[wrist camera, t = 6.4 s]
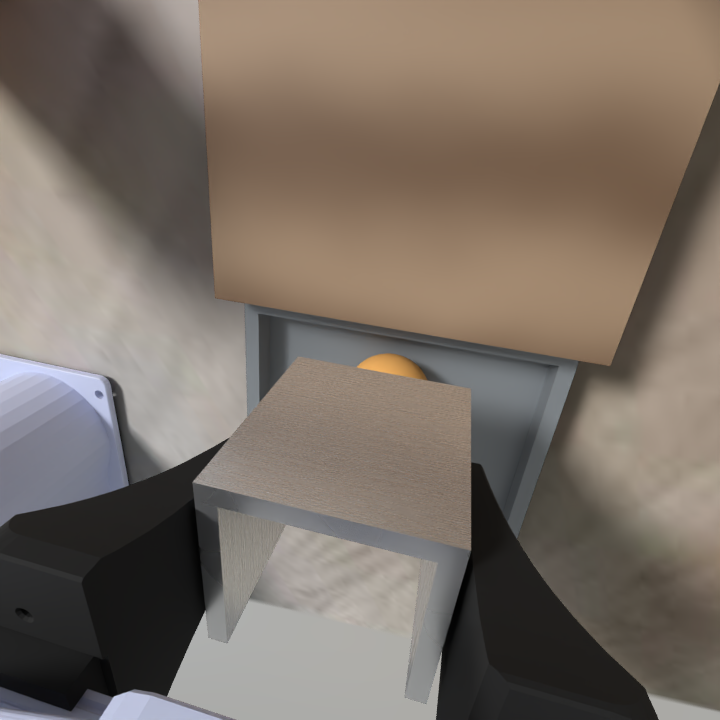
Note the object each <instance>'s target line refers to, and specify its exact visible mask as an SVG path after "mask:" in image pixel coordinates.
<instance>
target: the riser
mask: <svg viewBox="0 0 720 720" xmlns="http://www.w3.org/2000/svg"><path fill="white" fill-rule="evenodd" d="M198 4H199V21H200V39H201V57H202V75H203V93H204V111H205V129H206V147H207V164H208V182H209V200H210V218H211V236H212V254H213V272H214V289H215V298H217V299H223V300H228V301H234V302H240V303H246V304H252V305H258V306H263V307H269V308H275V309H281V310H287V311H292V312H298V313H304V314H310V315H316V316H322V317H327V318H333V319H339V320H345V321H351V322H357V323H362V324H368V325H374V326H380V327H386V328H391V329H397V330H403V331H409V332H415V333H421V334H426V335H432V336H438V337H444V338H450V339H455V340H461V341H467V342H473V343H479V344H485V345H490V346H496V347H502V348H508V349H514V350H520V351H525V352H531V353H537V354H543V355H549V356H554V357H560V358H566V359H572V360H578V361H584V362H589V363H595V364H601V365H607V366H610V365H611V363H612V360H613V357H614V355H615V352H616V350H617V347H618V344H619V342H620V339H621V337H622V334H623V332H624V329H625V326H626V324H627V321H628V319H629V316H630V313H631V311H632V308H633V306H634V303H635V301H636V298H637V295H638V293H639V290H640V288H641V285H642V282H643V280H644V277H645V275H646V272H647V269H648V267H649V264H650V262H651V259H652V257H653V254H654V251H655V249H656V246H657V244H658V241H659V238H660V236H661V233H662V231H663V228H664V226H665V223H666V220H667V218H668V215H669V213H670V210H671V207H672V205H673V202H674V200H675V197H676V194H677V192H678V189H679V187H680V184H681V182H682V179H683V176H684V174H685V171H686V169H687V166H688V163H689V161H690V158H691V156H692V153H693V150H694V148H695V145H696V143H697V140H698V138H699V135H700V132H701V130H702V127H703V125H704V122H705V119H706V117H707V114H708V112H709V109H710V107H711V104H712V101H713V99H714V96H715V94H716V91H717V88H718V86H719V83H720V0H198Z"/></svg>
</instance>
